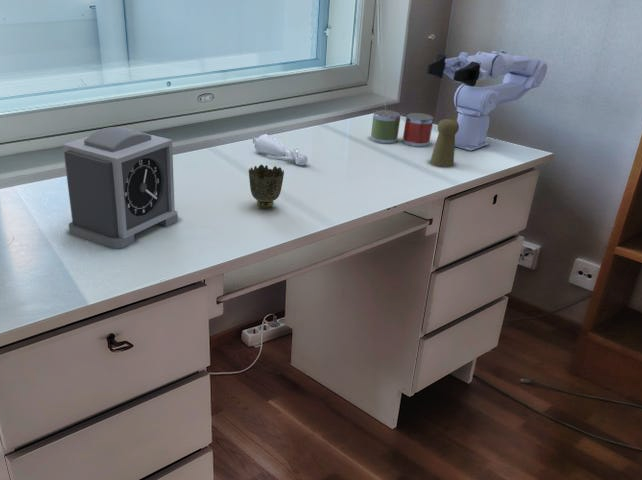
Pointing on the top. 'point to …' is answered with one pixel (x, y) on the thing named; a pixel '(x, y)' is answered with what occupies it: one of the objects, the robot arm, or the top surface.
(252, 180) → the cup
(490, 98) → the robot arm
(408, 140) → the red tin
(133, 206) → the alarm clock
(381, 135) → the green tin
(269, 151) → the woman figurine
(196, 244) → the top surface
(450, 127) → the cork
